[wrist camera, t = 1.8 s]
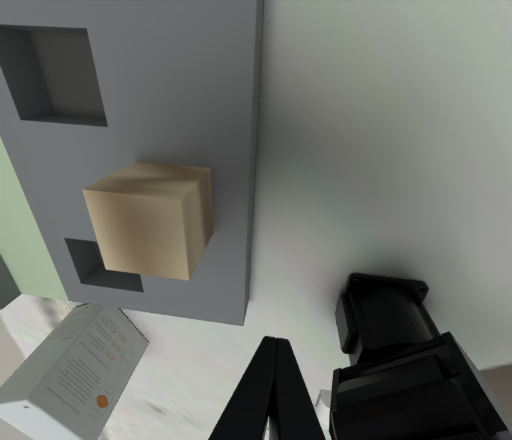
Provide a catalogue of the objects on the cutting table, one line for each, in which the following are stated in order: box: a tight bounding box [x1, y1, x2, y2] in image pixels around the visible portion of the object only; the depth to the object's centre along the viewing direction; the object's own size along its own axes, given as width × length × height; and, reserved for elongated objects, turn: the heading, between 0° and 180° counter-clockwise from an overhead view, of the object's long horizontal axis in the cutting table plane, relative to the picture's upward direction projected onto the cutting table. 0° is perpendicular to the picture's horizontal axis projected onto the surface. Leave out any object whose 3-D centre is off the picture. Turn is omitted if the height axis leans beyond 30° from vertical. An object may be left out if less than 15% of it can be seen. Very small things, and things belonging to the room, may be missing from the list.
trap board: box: [0, 0, 264, 326], centre depth 19 cm, size 23×24×5 cm
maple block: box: [82, 161, 213, 280], centre depth 16 cm, size 5×5×5 cm
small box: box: [0, 304, 148, 440], centre depth 26 cm, size 8×6×10 cm
